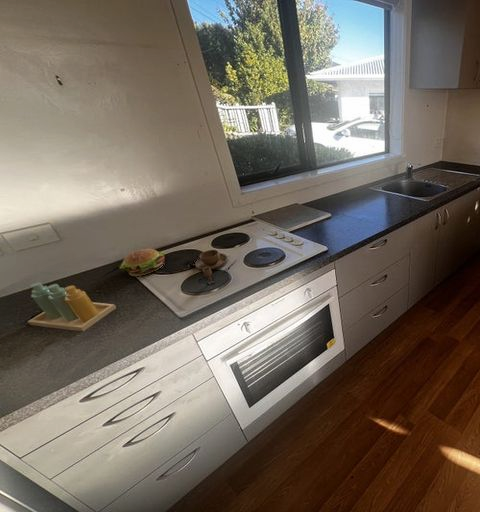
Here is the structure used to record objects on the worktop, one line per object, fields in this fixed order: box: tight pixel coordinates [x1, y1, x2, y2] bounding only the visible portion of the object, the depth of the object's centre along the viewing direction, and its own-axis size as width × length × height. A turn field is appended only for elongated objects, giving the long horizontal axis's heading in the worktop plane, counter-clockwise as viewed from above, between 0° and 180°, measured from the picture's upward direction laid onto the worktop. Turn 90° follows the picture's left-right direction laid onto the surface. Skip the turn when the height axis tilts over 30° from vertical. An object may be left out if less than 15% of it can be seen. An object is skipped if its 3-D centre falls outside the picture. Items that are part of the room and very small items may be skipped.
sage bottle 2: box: [47, 283, 78, 321], centre depth 89 cm, size 5×5×12 cm
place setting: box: [187, 249, 238, 281], centre depth 114 cm, size 18×20×6 cm
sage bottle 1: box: [30, 281, 62, 319], centre depth 90 cm, size 5×5×12 cm
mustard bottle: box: [64, 285, 99, 323], centre depth 88 cm, size 5×5×12 cm
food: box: [118, 248, 166, 277], centre depth 114 cm, size 14×14×8 cm
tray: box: [27, 301, 117, 332], centre depth 92 cm, size 19×11×2 cm, turn 82°
